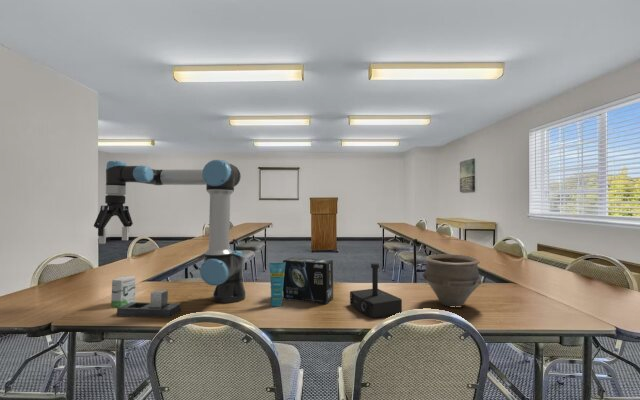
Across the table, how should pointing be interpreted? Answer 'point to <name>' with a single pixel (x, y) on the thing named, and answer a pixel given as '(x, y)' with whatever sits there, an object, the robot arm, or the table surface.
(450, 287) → the planter
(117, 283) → the ink box
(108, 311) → the table surface
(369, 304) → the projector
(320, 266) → the box
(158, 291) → the grey rectangular block
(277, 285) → the tube
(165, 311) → the dark grey slotted tray
